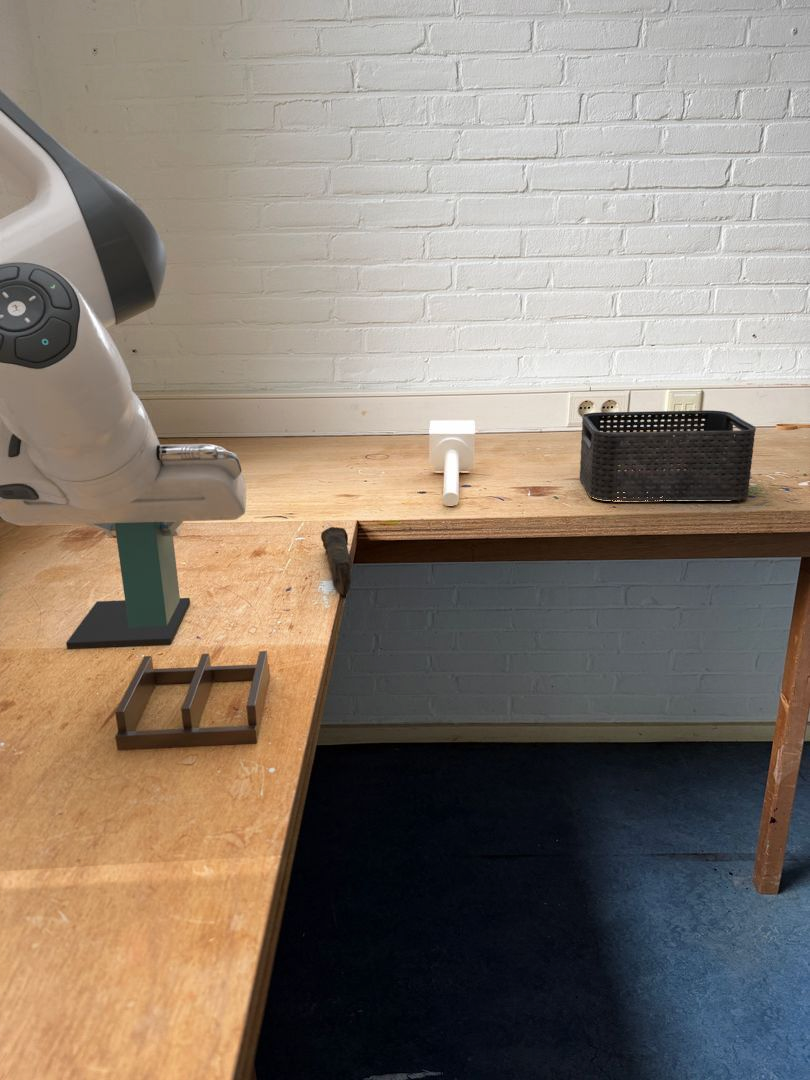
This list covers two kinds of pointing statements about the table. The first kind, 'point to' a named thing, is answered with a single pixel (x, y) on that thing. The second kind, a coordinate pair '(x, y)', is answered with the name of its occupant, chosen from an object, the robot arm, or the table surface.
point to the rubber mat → (122, 627)
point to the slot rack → (191, 705)
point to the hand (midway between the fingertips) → (145, 530)
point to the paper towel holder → (451, 453)
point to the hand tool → (338, 557)
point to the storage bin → (666, 456)
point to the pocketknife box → (147, 573)
